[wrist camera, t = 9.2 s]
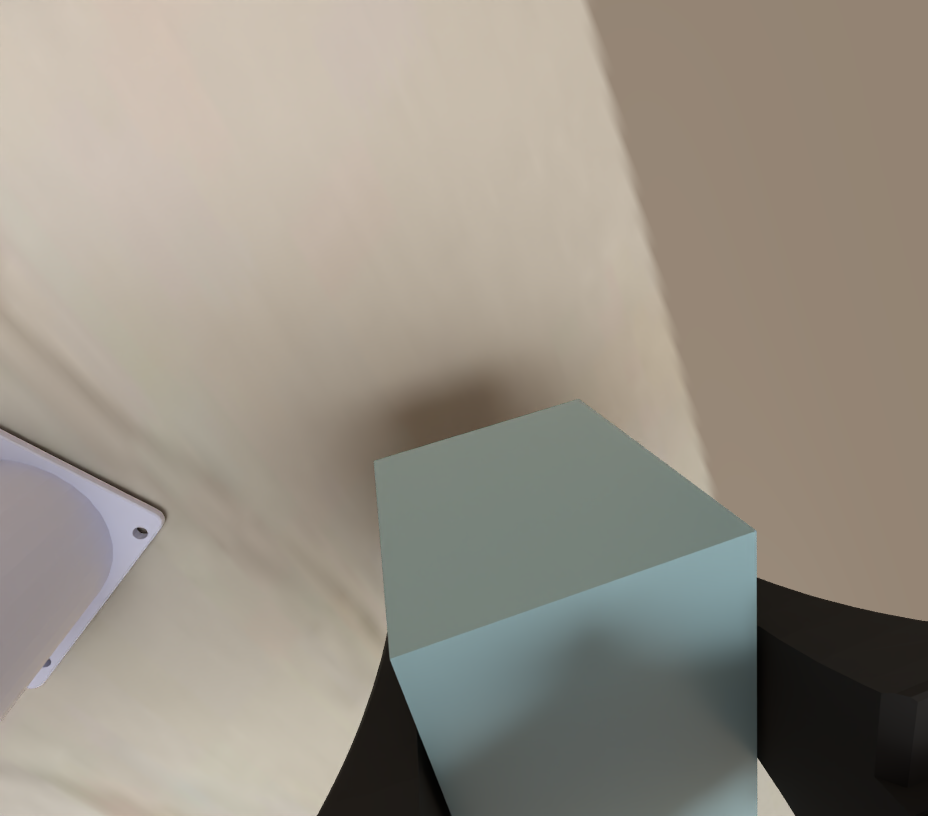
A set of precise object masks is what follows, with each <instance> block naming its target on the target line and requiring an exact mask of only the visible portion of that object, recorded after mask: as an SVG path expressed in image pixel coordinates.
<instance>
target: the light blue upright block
mask: <svg viewBox="0 0 928 816" xmlns="http://www.w3.org/2000/svg"><path fill="white" fill-rule="evenodd" d="M374 470H375V482H376V495H377V507H378V519H379V532H380V544H381V557H382V569H383V581H384V594H385V606H386V619H387V631H388V643H389V656H390V661H391V663H392V666H393V669H394V671H395V674H396V676H397V679H398V681H399V684H400V686H401V689H402V691H403V694H404V696H405V699H406V701H407V704H408V707H409V709H410V712H411V714H412V717H413V719H414V722H415V724H416V727H417V729H418V732H419V734H420V737H421V739H422V742H423V745H424V747H425V750H426V752H427V755H428V757H429V760H430V762H431V765H432V767H433V770H434V772H435V775H436V777H437V780H438V783H439V785H440V788H441V790H442V793H443V795H444V798H445V800H446V803H447V805H448V808H449V810H450V813H451V815H452V816H757V574H756V573H757V565H756V564H757V563H756V562H757V561H756V560H757V559H756V558H757V557H756V530H755V529H753V528H752V527H750V526H749V525H748V524H747V523H745V522H744V521H743V520H741V519H740V518H738V517H737V516H736V515H734V514H733V513H732V512H730V511H729V510H728V509H726V508H725V507H723V506H722V505H721V504H719V503H718V502H717V501H716V500H714V499H713V498H712V497H710V496H709V495H708V494H706V493H705V492H703V491H702V490H701V489H699V488H698V487H697V486H695V485H694V484H693V483H691V482H690V481H689V480H687V479H686V478H685V477H683V476H682V475H681V474H679V473H678V472H677V471H675V470H674V469H672V468H671V467H670V466H668V465H667V464H666V463H664V462H663V461H662V460H660V459H659V458H658V457H656V456H655V455H654V454H652V453H651V452H650V451H648V450H647V449H646V448H644V447H643V446H641V445H640V444H639V443H637V442H636V441H635V440H633V439H632V438H631V437H629V436H628V435H627V434H625V433H624V432H623V431H621V430H620V429H619V428H617V427H616V426H615V425H613V424H612V423H610V422H609V421H608V420H606V419H605V418H604V417H602V416H601V415H600V414H598V413H597V412H596V411H594V410H593V409H592V408H590V407H589V406H588V405H586V404H585V403H584V402H582V401H581V400H580V399H577V400H573V401H570V402H567V403H563V404H560V405H557V406H553V407H550V408H547V409H544V410H540V411H537V412H534V413H530V414H527V415H524V416H520V417H517V418H514V419H510V420H507V421H504V422H501V423H497V424H494V425H491V426H487V427H484V428H481V429H477V430H474V431H471V432H468V433H464V434H461V435H458V436H454V437H451V438H448V439H444V440H441V441H438V442H434V443H431V444H428V445H425V446H421V447H418V448H415V449H411V450H408V451H405V452H401V453H398V454H395V455H392V456H388V457H385V458H382V459H378V460H375V461H374Z"/></svg>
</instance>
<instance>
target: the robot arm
mask: <svg viewBox="0 0 928 816" xmlns="http://www.w3.org/2000/svg"><path fill="white" fill-rule="evenodd" d="M164 522H165V517H164V515H163V513H162V512H161V511H159V510H158V509H156V508H154V507H152V506H150V505H148V504H146V503H144V502H142V501H140V500H138V499H136V498H135V497H133V496H131V495H129V494H127V493H125V492H123V491H121V490H119V489H117V488H115V487H113V486H111V485H109V484H107V483H105V482H103V481H101V480H99V479H97V478H95V477H93V476H92V475H90V474H88V473H86V472H84V471H82V470H80V469H78V468H76V467H74V466H72V465H70V464H68V463H66V462H64V461H62V460H60V459H58V458H56V457H54V456H52V455H50V454H48V453H47V452H45V451H43V450H41V449H39V448H37V447H35V446H33V445H31V444H29V443H27V442H25V441H23V440H21V439H19V438H17V437H15V436H13V435H11V434H9V433H7V432H5V431H4V430H2V429H0V722H1V721H2V719H3V718H4V717H5V715H6V714H7V713H8V711H9V710H10V709H11V708H12V706H13V705H14V704H15V702H16V701H17V700H18V698H19V697H20V696H21V694H22V693H23V692H24V690H25V689H26V688H29V689H30V688H37V687H40V686H42V685H43V684H44V683H45V681H46V680H47V679H48V677H49V676H50V675H51V673H52V672H53V671H54V670H55V668H56V667H57V666H58V664H59V663H60V662H61V660H62V659H63V658H64V656H65V655H66V654H67V652H68V651H69V650H70V648H71V647H72V646H73V644H74V643H75V642H76V640H77V639H78V638H79V636H80V635H81V634H82V632H83V631H84V630H85V628H86V627H87V626H88V624H89V623H90V622H91V620H92V619H93V618H94V616H95V615H96V614H97V613H98V611H99V610H100V609H101V607H102V606H103V605H104V603H105V602H106V601H107V599H108V598H109V597H110V595H111V594H112V593H113V591H114V590H115V589H116V587H117V586H118V585H119V583H120V582H121V581H122V579H123V578H124V577H125V575H126V574H127V573H128V571H129V570H130V569H131V567H132V566H133V565H134V563H135V562H136V561H137V559H138V558H139V557H140V555H141V554H142V553H143V552H144V550H145V549H146V548H147V546H148V545H149V544H150V542H151V541H152V540H153V538H154V537H155V536H156V534H157V533H158V532H159V530H160V529H161V528H162V526H163V524H164ZM138 527H142V528H144V529H146V530H147V532H148V533H146V534H143V533H140V532H139V531H138V530H137V528H138ZM48 659H50V660H48ZM757 758H758V759H759V761H760V762H761V764H762V765H763V767H764V768H765V770H766V771H767V773H768V774H769V776H770V777H771V779H772V780H773V782H774V783H775V785H776V786H777V788H778V789H779V791H780V792H781V794H782V795H783V797H784V798H785V800H786V802H787V803H788V805H789V806H790V808H791V809H792V811H793V813H794V814H795V816H928V621H921V620H915V619H909V618H904V617H899V616H893V615H888V614H883V613H878V612H873V611H869V610H864V609H860V608H856V607H852V606H848V605H844V604H840V603H836V602H832V601H828V600H824V599H821V598H817V597H814V596H810V595H807V594H803V593H801V592H798V591H794V590H791V589H788V588H785V587H782V586H779V585H776V584H773V583H771V582H767V581H765V580H762V579H760V578H757ZM317 816H452V815H451V813H450V810H449V808H448V805H447V803H446V800H445V798H444V795H443V793H442V790H441V788H440V785H439V783H438V780H437V777H436V775H435V772H434V770H433V767H432V765H431V762H430V760H429V757H428V755H427V752H426V750H425V747H424V745H423V742H422V739H421V737H420V734H419V732H418V729H417V727H416V724H415V722H414V719H413V717H412V714H411V712H410V709H409V707H408V704H407V701H406V699H405V696H404V694H403V691H402V689H401V686H400V684H399V681H398V679H397V676H396V674H395V671H394V669H393V666H392V663H391V661H390V656H389V643H388V632H387V637H386V641H385V646H384V650H383V654H382V658H381V662H380V665H379V669H378V672H377V676H376V679H375V682H374V686H373V689H372V692H371V695H370V698H369V701H368V703H367V706H366V709H365V712H364V715H363V718H362V721H361V723H360V726H359V728H358V731H357V733H356V736H355V738H354V741H353V743H352V745H351V748H350V750H349V752H348V754H347V757H346V759H345V761H344V763H343V766H342V768H341V770H340V772H339V774H338V776H337V778H336V780H335V782H334V784H333V786H332V788H331V790H330V792H329V794H328V796H327V798H326V800H325V802H324V804H323V806H322V807H321V809H320V811H319V813H318V815H317Z"/></svg>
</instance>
